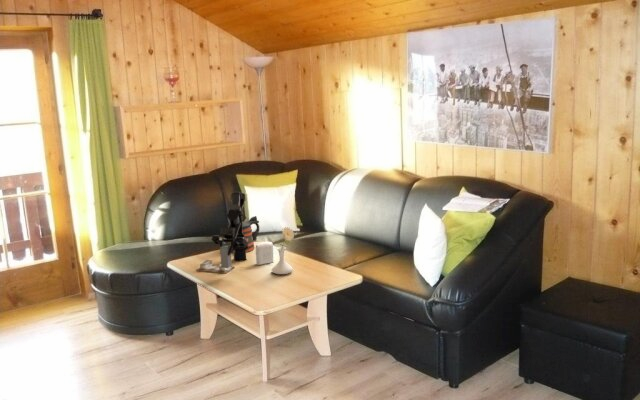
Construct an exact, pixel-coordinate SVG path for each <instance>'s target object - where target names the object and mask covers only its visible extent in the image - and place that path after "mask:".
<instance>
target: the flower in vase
mask: <svg viewBox="0 0 640 400" xmlns="http://www.w3.org/2000/svg"><path fill="white" fill-rule="evenodd" d="M281 234H282V238H283V239H284V240H283V243H279V242H277V245H278V246H279V247H276V250H277V251H278V255H279V256H278V257H279V261H277V263H276V264H275V265H274V266H273V267H272V269H271V272H272V273H274V274H276V275H287V274H290V273H291V272H292V271H294V270H293V267H292V266H291V265H290V264H289V263H287V262H286V261H285V257H284V256H285V250H286V249H287V247H286V246H284V245H285V244H286V245H287V246H288V245H290V244H291V243H292V240H294V238H295V237H294V236H295V234H294V231H293V230H292V229H291V228H290V227H288V226H285V227H283V229H282V230H281Z"/></svg>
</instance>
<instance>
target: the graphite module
mask: <svg viewBox="0 0 640 400" xmlns="http://www.w3.org/2000/svg"><path fill="white" fill-rule="evenodd" d="M229 249H230V245H227V244H225V245H223V246H222V247H220V246H219V253H221V254H220V264H221V267H222V268H229V267H231V266H232V267H233V265H232V264H233V261H232V253H231V254H230V255H229V256H228V251H229Z"/></svg>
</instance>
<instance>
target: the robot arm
mask: <svg viewBox="0 0 640 400" xmlns="http://www.w3.org/2000/svg"><path fill="white" fill-rule="evenodd" d="M246 198H247V197H246V194H245V193H243V192H242V191H233V192H232V193H231V194H230V201H231V206H229V207H228V208H229V209H228V210H227V213H226V217H227V220H228V223H229V224H228V227H226V228H225V227H224V228H223V227H221V228H220V235H218V234H217V235H216V234H214V235H212V236H211V241H212V242H213V244H215V245H217V246H218V245H219V248H220V247H222V246H223V245H226V243H231V246H230V245H229V246H230V249H229V251H228V256H229V255H230V254H231V255H232V253H233V255H232V256H233V260H234V261H235V262H243V261H244V262H245V261H247V260H248V259H247V252H246V250H247V249H248V242H247V240H245V236H244V234H243V226H242V222H243V216H244V211H243V208H244V206H246V201H247V199H246ZM221 235H222V236H221ZM233 251H234V252H233ZM219 253H220V252H219ZM220 255H221V253H220Z"/></svg>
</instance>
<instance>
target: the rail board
mask: <svg viewBox="0 0 640 400" xmlns="http://www.w3.org/2000/svg"><path fill="white" fill-rule="evenodd" d="M234 269H235V266H233V265H232V266H231V267H229V268H222V267H221V263H220V264H219V265H218V264H213V260H212V259H205V260H203V261H201V262H200V263H199V268H197V269H196V272H203V273H213V274H224V275H225V274H226V275H227V274H228V273H229V272H231V271H233V270H234Z"/></svg>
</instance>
